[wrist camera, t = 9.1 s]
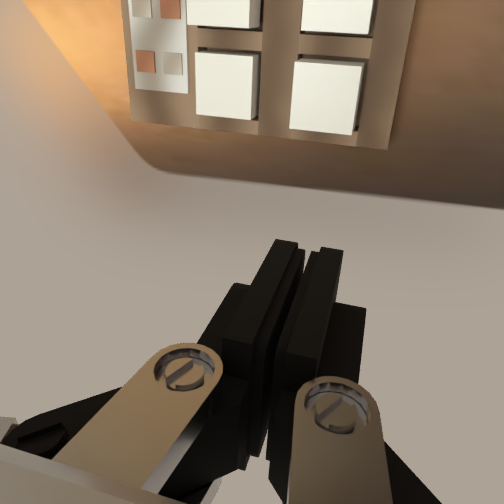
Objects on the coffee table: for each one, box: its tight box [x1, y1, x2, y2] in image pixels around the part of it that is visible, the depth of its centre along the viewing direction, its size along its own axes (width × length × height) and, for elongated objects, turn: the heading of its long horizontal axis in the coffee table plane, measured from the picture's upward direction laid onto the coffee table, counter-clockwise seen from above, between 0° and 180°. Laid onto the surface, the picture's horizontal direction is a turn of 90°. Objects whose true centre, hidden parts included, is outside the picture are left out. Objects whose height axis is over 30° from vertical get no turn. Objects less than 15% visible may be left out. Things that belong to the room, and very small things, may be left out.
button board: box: [121, 0, 416, 150], centre depth 34 cm, size 22×14×4 cm, turn 87°
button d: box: [195, 50, 262, 120], centre depth 35 cm, size 5×5×3 cm
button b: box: [289, 58, 365, 135], centre depth 32 cm, size 5×5×3 cm
